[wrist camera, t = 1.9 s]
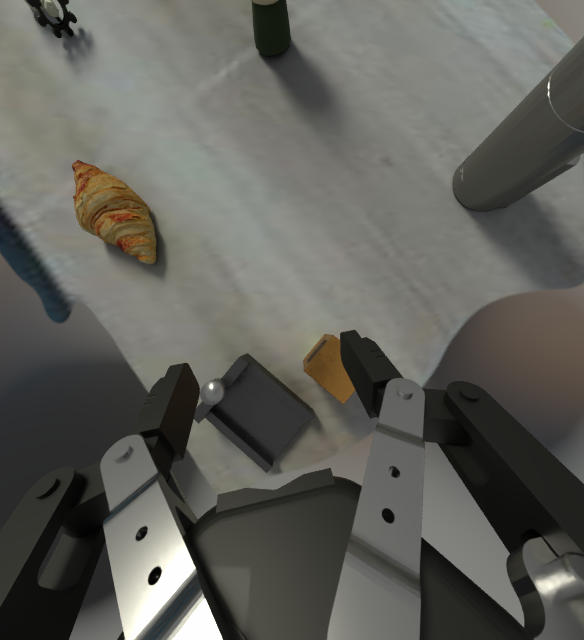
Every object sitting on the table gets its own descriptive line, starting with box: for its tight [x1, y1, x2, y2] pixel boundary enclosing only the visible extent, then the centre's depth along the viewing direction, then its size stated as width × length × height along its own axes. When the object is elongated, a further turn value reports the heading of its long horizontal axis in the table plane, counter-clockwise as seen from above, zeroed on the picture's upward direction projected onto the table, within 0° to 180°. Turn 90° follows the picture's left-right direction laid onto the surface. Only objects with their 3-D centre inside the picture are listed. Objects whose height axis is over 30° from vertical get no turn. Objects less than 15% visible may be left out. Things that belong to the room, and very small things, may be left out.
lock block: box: [303, 334, 355, 404], centre depth 31 cm, size 6×6×10 cm
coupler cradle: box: [194, 353, 314, 473], centre depth 32 cm, size 15×11×7 cm
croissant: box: [72, 160, 156, 265], centre depth 36 cm, size 21×10×8 cm, turn 39°
